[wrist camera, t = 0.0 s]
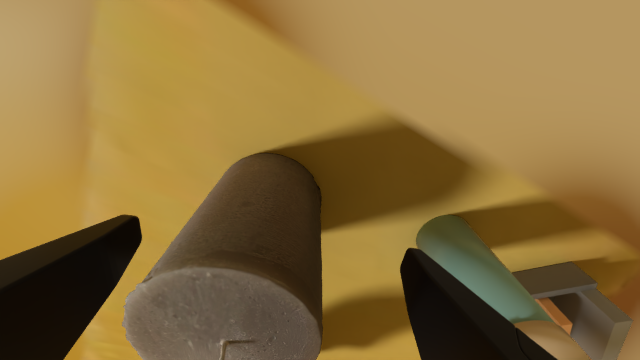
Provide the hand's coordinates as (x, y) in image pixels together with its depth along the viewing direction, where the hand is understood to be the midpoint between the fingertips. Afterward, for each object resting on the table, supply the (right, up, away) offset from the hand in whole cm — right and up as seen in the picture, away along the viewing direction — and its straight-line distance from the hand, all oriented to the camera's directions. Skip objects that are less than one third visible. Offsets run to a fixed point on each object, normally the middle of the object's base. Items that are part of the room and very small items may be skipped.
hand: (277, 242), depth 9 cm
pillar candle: (-3, 0, +16) cm, 17 cm away
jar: (+14, -4, +19) cm, 24 cm away
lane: (+23, -12, +23) cm, 35 cm away
